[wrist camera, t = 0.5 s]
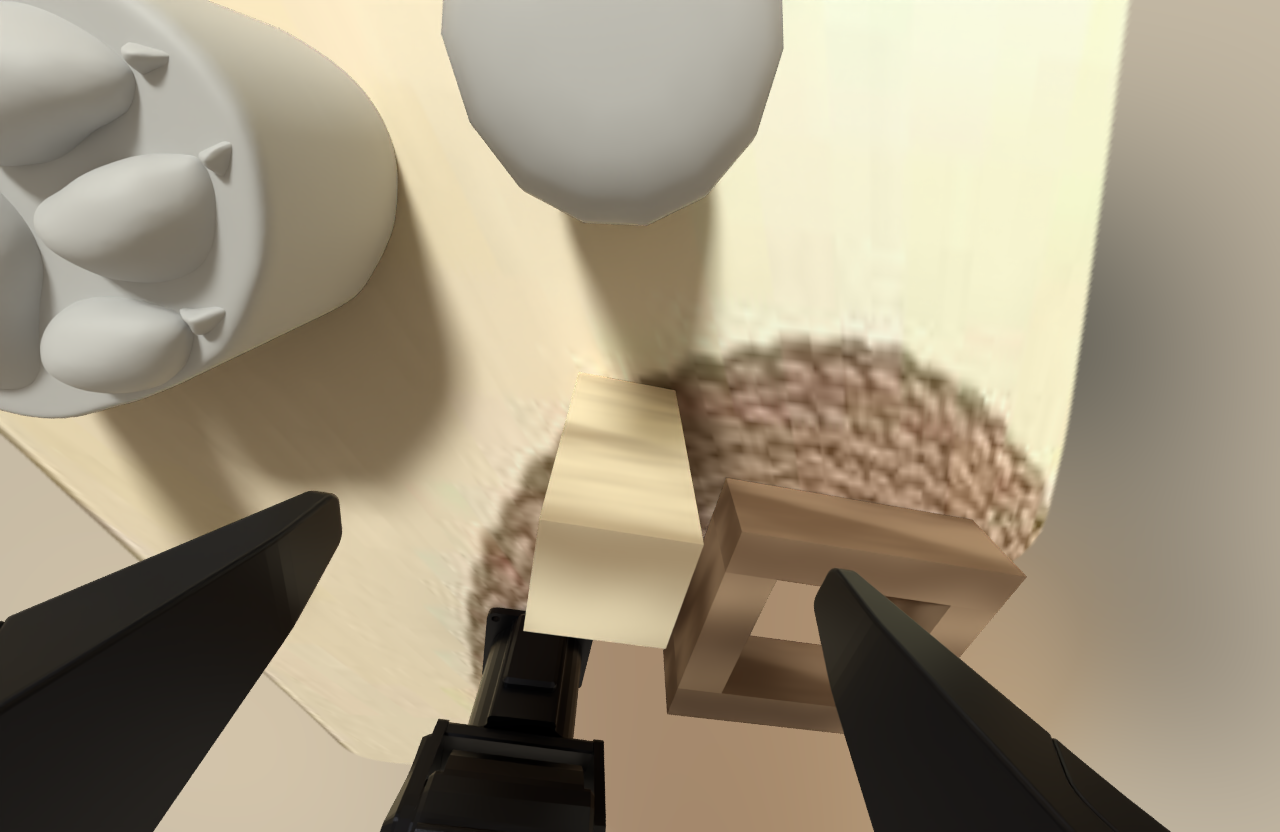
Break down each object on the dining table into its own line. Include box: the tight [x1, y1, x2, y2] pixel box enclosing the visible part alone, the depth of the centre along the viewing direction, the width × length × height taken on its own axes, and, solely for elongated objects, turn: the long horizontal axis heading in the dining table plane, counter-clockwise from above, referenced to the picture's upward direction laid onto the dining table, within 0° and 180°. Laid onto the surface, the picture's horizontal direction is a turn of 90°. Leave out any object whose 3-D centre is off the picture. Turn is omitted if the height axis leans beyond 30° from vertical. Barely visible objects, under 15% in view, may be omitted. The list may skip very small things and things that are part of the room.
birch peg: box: [523, 372, 704, 649], centre depth 18 cm, size 4×4×10 cm
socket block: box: [663, 478, 1026, 734], centre depth 26 cm, size 14×14×4 cm
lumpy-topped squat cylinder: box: [0, 0, 398, 418], centre depth 14 cm, size 10×13×9 cm
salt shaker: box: [441, 0, 783, 226], centre depth 11 cm, size 6×6×13 cm
